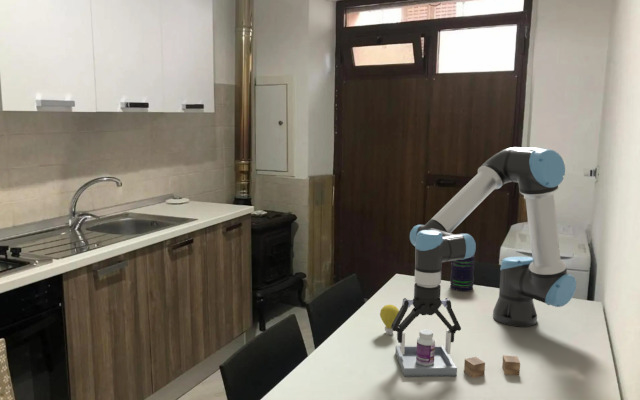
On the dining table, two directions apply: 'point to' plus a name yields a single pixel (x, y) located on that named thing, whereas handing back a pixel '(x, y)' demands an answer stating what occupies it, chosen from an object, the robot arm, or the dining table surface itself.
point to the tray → (439, 368)
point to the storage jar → (462, 274)
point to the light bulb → (388, 317)
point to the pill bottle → (425, 348)
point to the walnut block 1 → (474, 367)
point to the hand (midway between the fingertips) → (425, 352)
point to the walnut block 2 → (511, 365)
